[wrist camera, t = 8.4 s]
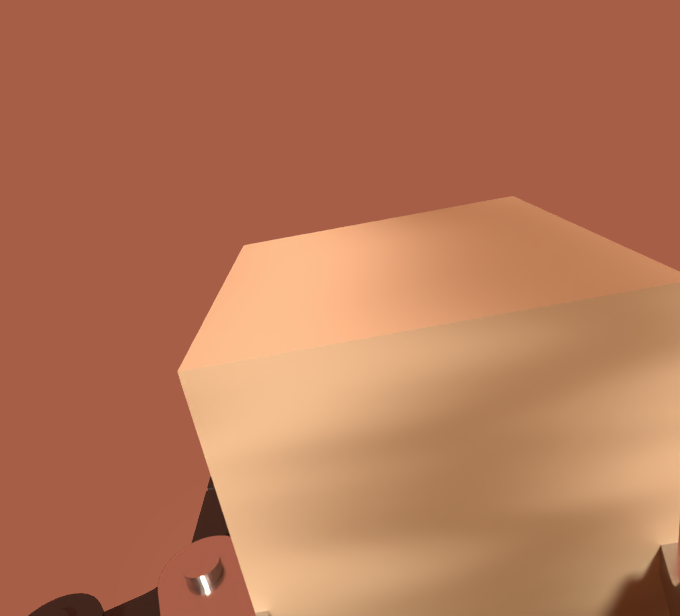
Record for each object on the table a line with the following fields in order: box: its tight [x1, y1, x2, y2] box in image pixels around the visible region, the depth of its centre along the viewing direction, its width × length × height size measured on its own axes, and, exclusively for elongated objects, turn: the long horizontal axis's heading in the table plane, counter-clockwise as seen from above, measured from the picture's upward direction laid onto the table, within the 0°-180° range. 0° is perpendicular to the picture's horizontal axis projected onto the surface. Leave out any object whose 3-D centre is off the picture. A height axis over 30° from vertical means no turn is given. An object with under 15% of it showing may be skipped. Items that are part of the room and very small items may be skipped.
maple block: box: [178, 196, 680, 616], centre depth 9 cm, size 5×5×11 cm
